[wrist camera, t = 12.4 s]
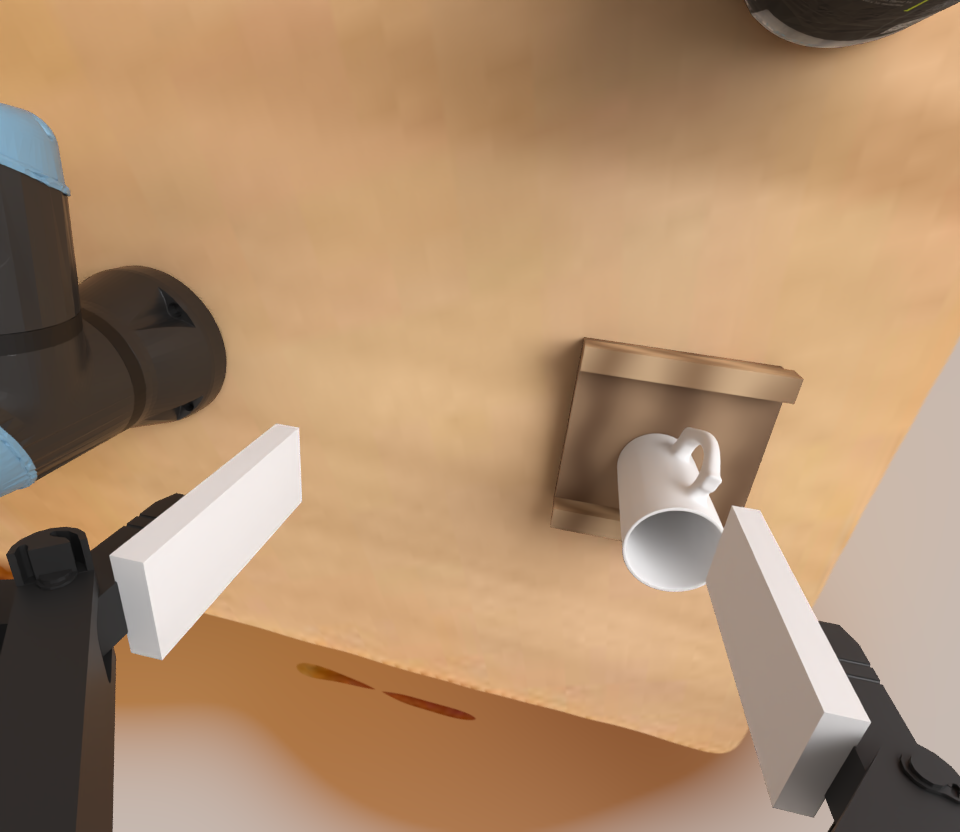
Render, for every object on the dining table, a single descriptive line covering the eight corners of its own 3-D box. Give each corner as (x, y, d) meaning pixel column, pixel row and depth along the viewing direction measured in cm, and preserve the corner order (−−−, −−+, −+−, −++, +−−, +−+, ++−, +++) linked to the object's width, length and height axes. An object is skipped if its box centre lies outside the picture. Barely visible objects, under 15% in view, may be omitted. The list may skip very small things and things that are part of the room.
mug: (669, 510, 48) (693, 606, 37) (600, 479, 48) (604, 567, 37) (733, 417, 44) (782, 495, 33) (657, 383, 44) (681, 450, 33)
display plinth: (553, 500, 53) (550, 527, 49) (585, 331, 46) (585, 346, 42) (722, 532, 51) (734, 562, 47) (783, 360, 44) (803, 379, 40)
